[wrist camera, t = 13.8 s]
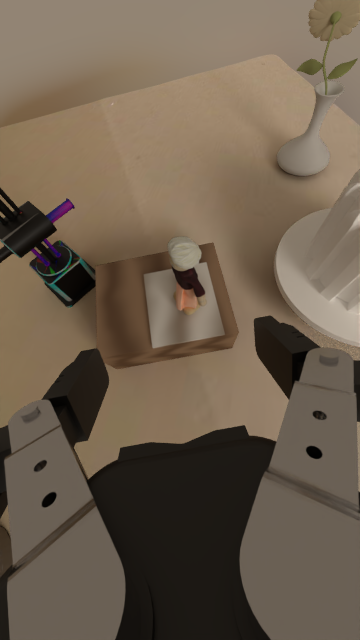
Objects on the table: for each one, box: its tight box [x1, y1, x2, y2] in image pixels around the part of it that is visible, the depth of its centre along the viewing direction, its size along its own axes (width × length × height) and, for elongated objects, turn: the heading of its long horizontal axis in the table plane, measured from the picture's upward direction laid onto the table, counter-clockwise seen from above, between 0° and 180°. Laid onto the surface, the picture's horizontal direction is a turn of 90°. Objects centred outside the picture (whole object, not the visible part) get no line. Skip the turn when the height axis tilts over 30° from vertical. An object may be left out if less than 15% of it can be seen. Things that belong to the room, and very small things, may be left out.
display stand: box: [95, 243, 239, 369], centre depth 38 cm, size 20×16×9 cm
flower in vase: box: [277, 0, 360, 176], centre depth 42 cm, size 13×11×25 cm
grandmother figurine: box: [168, 237, 207, 315], centre depth 27 cm, size 8×4×13 cm, turn 41°
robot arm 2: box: [0, 188, 96, 307], centre depth 35 cm, size 25×9×24 cm, turn 137°
